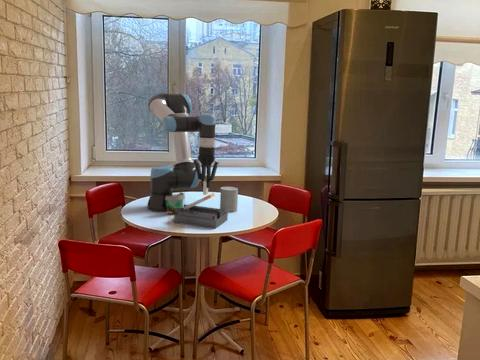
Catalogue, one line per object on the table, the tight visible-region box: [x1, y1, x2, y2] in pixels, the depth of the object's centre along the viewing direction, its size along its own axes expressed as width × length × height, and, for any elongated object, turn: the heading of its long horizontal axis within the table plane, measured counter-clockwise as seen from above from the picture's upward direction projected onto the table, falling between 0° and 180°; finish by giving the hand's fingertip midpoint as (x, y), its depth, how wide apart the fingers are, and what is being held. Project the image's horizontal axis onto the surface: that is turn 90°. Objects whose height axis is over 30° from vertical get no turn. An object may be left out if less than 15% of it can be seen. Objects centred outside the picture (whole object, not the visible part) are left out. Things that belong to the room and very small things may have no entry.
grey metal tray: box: [173, 204, 229, 230], centre depth 236 cm, size 22×16×7 cm
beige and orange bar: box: [182, 192, 216, 211], centre depth 235 cm, size 18×5×2 cm, turn 71°
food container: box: [165, 191, 186, 216], centre depth 248 cm, size 12×6×10 cm, turn 148°
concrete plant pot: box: [219, 186, 239, 214], centre depth 258 cm, size 10×10×12 cm
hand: (205, 194), depth 233 cm, fingers closed
